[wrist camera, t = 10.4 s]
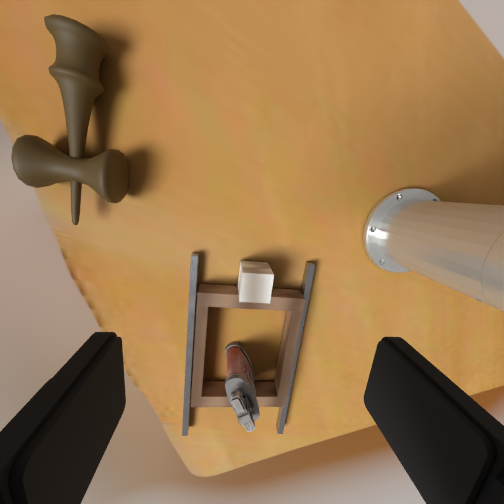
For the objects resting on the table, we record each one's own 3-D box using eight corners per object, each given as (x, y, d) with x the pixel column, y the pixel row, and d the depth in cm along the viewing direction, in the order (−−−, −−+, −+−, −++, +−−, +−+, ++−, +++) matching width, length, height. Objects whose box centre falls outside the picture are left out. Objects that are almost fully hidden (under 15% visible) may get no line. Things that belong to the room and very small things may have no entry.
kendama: (140, 58, 27) (128, 228, 31) (49, 35, 26) (50, 215, 30) (115, 20, 21) (105, 236, 25) (-4, -12, 20) (6, 220, 24)
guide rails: (311, 262, 35) (315, 265, 34) (280, 425, 43) (282, 433, 42) (192, 252, 33) (191, 255, 31) (183, 426, 41) (182, 435, 39)
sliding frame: (303, 265, 35) (315, 277, 30) (280, 391, 41) (288, 418, 36) (201, 257, 33) (197, 269, 28) (193, 390, 39) (188, 419, 34)
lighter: (257, 375, 40) (267, 435, 30) (239, 382, 40) (243, 445, 30) (240, 338, 37) (245, 390, 28) (221, 346, 37) (219, 401, 28)
